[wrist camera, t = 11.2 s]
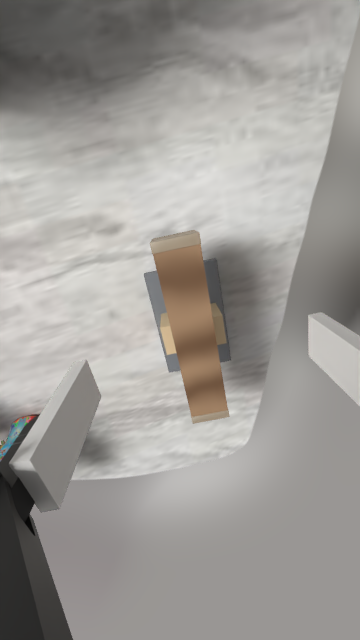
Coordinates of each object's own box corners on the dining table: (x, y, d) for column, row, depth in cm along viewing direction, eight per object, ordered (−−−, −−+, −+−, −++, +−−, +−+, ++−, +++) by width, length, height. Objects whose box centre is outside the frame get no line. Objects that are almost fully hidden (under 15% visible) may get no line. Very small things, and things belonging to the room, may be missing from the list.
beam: (152, 238, 28) (149, 243, 23) (193, 229, 28) (199, 232, 23) (189, 396, 36) (192, 423, 31) (221, 390, 36) (229, 416, 31)
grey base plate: (144, 273, 35) (140, 284, 30) (214, 258, 35) (224, 266, 29) (169, 368, 41) (169, 392, 36) (229, 356, 41) (239, 379, 35)
